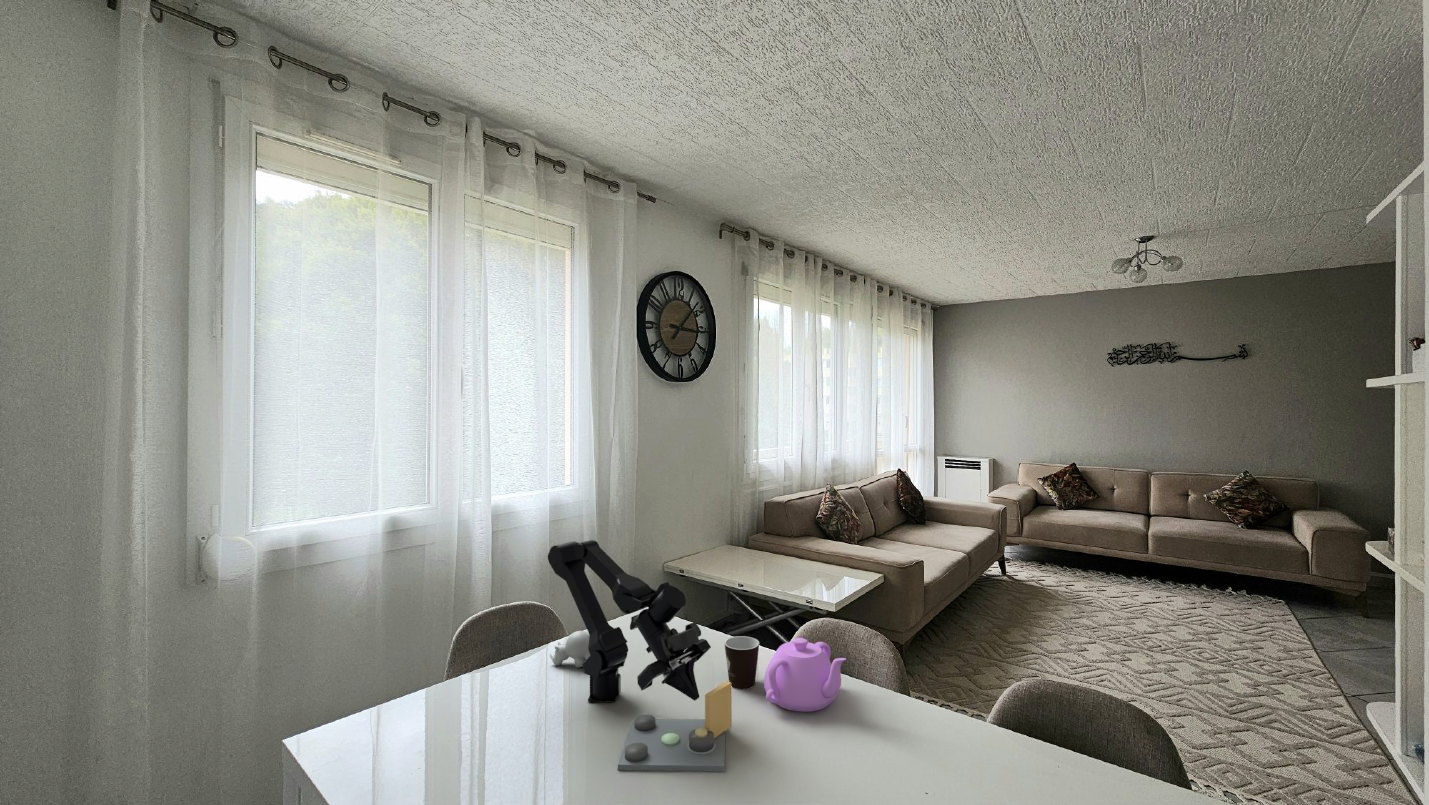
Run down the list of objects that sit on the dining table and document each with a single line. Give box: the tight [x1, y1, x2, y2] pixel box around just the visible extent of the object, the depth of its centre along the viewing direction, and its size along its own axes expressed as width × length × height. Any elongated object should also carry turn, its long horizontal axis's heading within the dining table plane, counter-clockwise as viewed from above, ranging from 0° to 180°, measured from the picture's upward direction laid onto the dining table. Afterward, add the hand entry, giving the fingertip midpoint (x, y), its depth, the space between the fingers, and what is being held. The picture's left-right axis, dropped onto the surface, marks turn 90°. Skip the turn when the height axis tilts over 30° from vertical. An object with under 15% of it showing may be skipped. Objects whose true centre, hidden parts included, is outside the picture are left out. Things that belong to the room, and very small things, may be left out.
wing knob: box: [689, 680, 733, 752], centre depth 122 cm, size 12×5×9 cm, turn 143°
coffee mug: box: [724, 635, 760, 690], centre depth 150 cm, size 12×9×10 cm
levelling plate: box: [617, 713, 726, 772], centre depth 121 cm, size 20×17×2 cm
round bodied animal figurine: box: [549, 630, 590, 669], centre depth 161 cm, size 7×12×8 cm, turn 89°
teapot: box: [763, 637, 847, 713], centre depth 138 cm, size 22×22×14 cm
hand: (697, 699), depth 125 cm, fingers closed
